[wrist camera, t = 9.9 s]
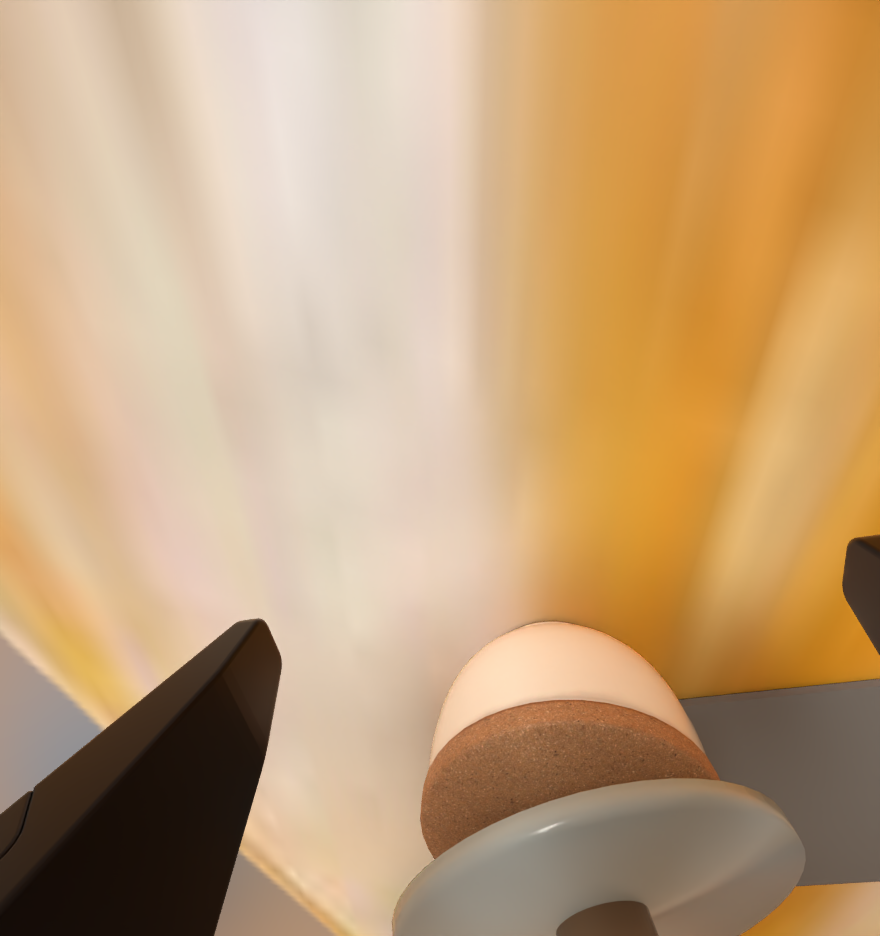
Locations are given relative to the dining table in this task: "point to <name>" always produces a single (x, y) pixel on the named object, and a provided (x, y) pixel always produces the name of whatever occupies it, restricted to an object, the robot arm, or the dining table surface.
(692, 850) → the lid
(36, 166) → the dining table surface
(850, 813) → the mat
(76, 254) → the dining table surface
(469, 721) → the lidded jar
